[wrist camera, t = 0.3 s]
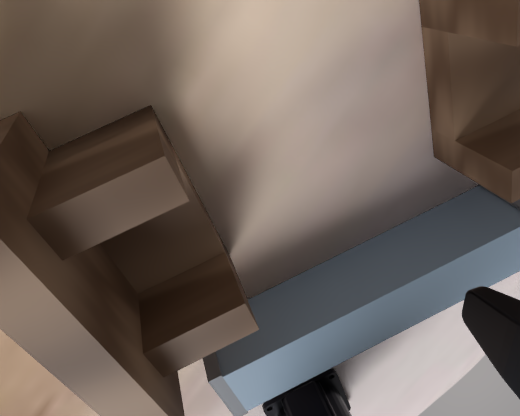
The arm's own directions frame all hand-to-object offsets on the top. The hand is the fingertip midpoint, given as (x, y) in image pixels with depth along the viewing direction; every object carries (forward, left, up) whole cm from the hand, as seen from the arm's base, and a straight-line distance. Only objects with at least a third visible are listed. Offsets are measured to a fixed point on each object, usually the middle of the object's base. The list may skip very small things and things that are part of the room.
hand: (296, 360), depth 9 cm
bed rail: (-13, -6, -14) cm, 20 cm away
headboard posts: (-2, -6, -14) cm, 15 cm away
